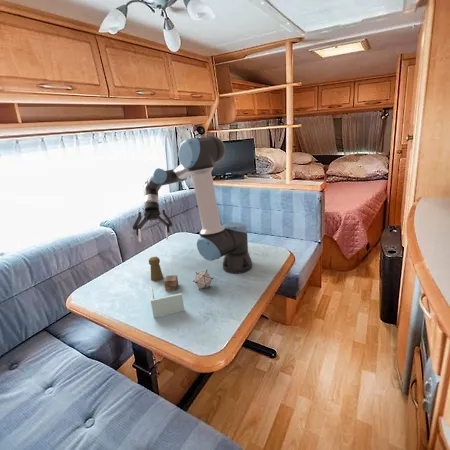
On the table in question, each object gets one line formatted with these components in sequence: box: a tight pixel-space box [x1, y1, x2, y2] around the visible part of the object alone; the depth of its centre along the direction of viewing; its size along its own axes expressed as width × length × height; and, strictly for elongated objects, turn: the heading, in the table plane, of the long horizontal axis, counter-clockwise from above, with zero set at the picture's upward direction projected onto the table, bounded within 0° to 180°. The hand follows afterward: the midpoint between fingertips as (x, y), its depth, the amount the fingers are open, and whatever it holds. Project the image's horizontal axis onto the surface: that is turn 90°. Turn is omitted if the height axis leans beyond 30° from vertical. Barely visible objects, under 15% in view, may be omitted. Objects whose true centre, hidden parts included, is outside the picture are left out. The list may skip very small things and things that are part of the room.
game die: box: [192, 269, 214, 291], centre depth 128 cm, size 9×8×10 cm
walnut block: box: [163, 274, 179, 292], centre depth 130 cm, size 5×5×5 cm
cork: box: [148, 256, 164, 282], centre depth 139 cm, size 6×6×11 cm
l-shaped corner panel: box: [149, 285, 185, 319], centre depth 116 cm, size 12×12×8 cm
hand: (153, 239), depth 146 cm, fingers open, 13 cm apart
